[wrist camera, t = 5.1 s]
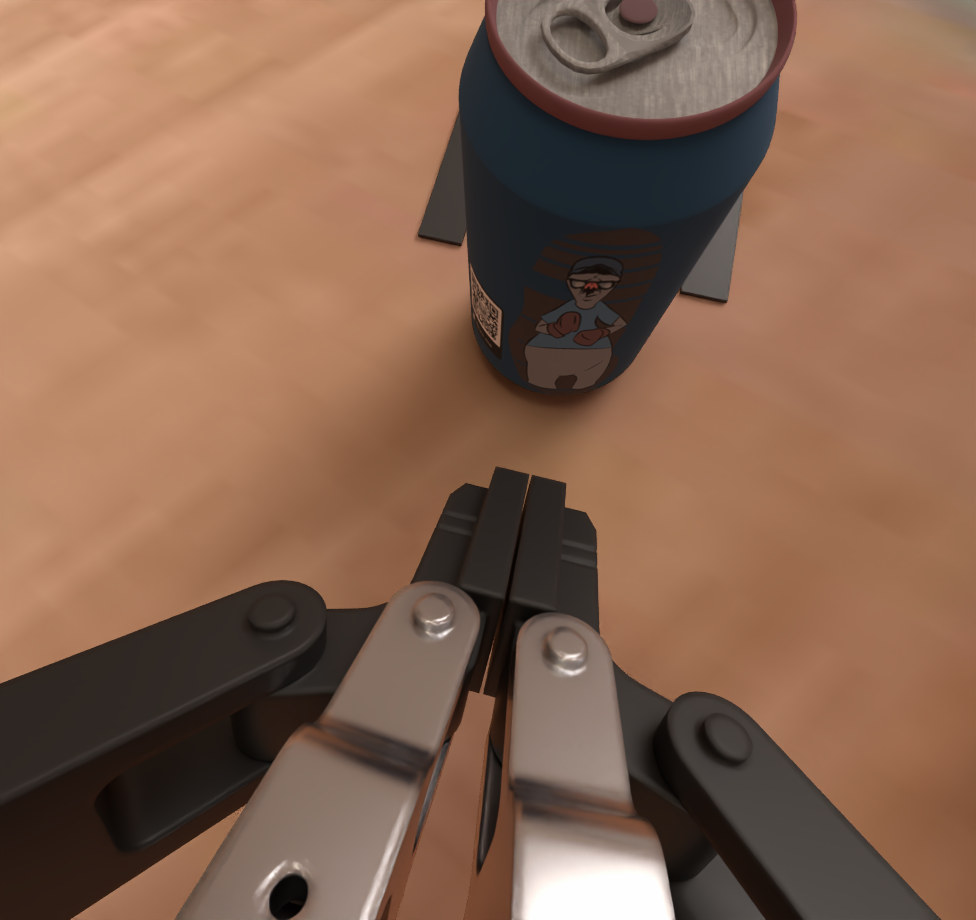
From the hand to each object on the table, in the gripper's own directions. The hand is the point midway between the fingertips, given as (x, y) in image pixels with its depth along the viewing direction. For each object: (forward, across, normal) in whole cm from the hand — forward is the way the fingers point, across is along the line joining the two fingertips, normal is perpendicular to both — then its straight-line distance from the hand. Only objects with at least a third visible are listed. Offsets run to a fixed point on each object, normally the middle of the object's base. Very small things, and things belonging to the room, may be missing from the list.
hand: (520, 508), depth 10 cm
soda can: (+12, 0, 0) cm, 12 cm away
